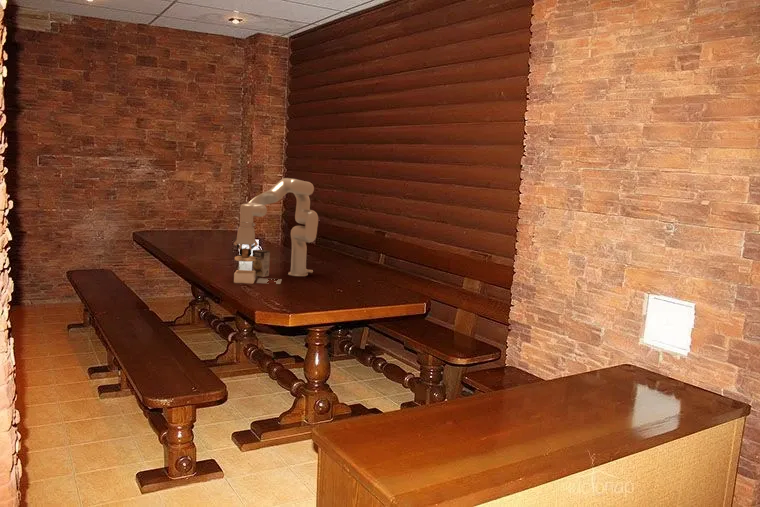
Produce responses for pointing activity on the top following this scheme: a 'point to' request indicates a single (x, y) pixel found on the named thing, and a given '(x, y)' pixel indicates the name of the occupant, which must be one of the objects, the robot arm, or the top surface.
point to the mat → (268, 280)
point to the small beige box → (244, 276)
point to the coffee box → (261, 263)
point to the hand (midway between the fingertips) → (245, 255)
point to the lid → (245, 256)
